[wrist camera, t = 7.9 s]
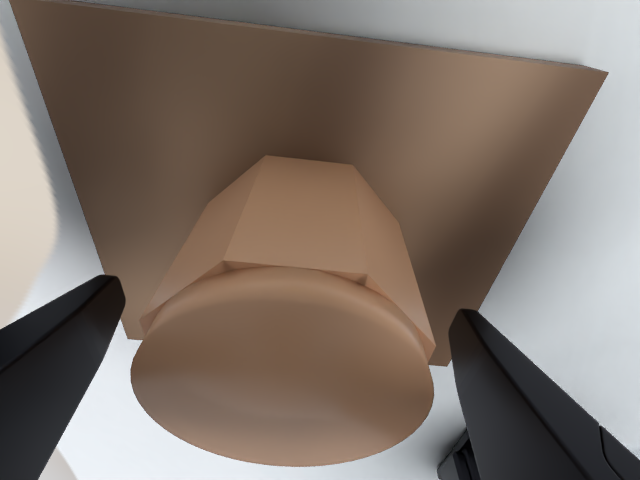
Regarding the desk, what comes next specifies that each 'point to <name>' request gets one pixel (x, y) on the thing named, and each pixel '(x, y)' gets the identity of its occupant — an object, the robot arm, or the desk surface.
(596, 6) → the desk surface
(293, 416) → the cap
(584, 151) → the desk surface
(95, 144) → the post board
